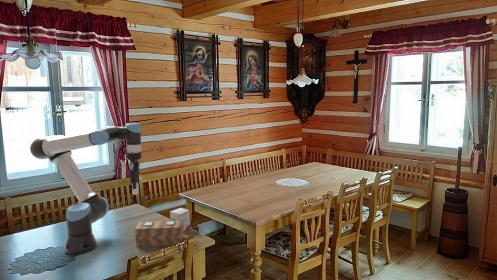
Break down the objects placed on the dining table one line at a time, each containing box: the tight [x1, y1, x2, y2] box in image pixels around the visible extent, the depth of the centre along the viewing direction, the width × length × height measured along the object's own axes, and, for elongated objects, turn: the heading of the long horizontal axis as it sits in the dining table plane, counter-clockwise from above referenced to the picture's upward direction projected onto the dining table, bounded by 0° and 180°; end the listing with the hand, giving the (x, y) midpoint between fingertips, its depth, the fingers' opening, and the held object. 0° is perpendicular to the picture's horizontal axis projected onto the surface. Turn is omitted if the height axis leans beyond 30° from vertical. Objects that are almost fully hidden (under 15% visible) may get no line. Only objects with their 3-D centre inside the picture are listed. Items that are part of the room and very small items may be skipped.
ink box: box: [169, 207, 191, 232], centre depth 210 cm, size 9×9×12 cm
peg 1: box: [144, 221, 153, 227], centre depth 193 cm, size 4×4×10 cm
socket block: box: [134, 220, 184, 248], centre depth 193 cm, size 24×10×10 cm, turn 94°
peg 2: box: [166, 221, 175, 226], centre depth 193 cm, size 4×4×10 cm
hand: (135, 194), depth 192 cm, fingers closed
